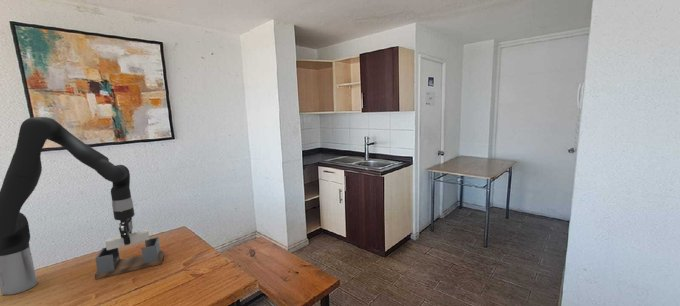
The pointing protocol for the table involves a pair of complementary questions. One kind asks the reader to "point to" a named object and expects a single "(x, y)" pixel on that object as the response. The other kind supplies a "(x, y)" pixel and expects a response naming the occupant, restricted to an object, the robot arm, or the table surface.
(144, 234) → the block
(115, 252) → the grey boxes
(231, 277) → the table surface
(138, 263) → the plank
